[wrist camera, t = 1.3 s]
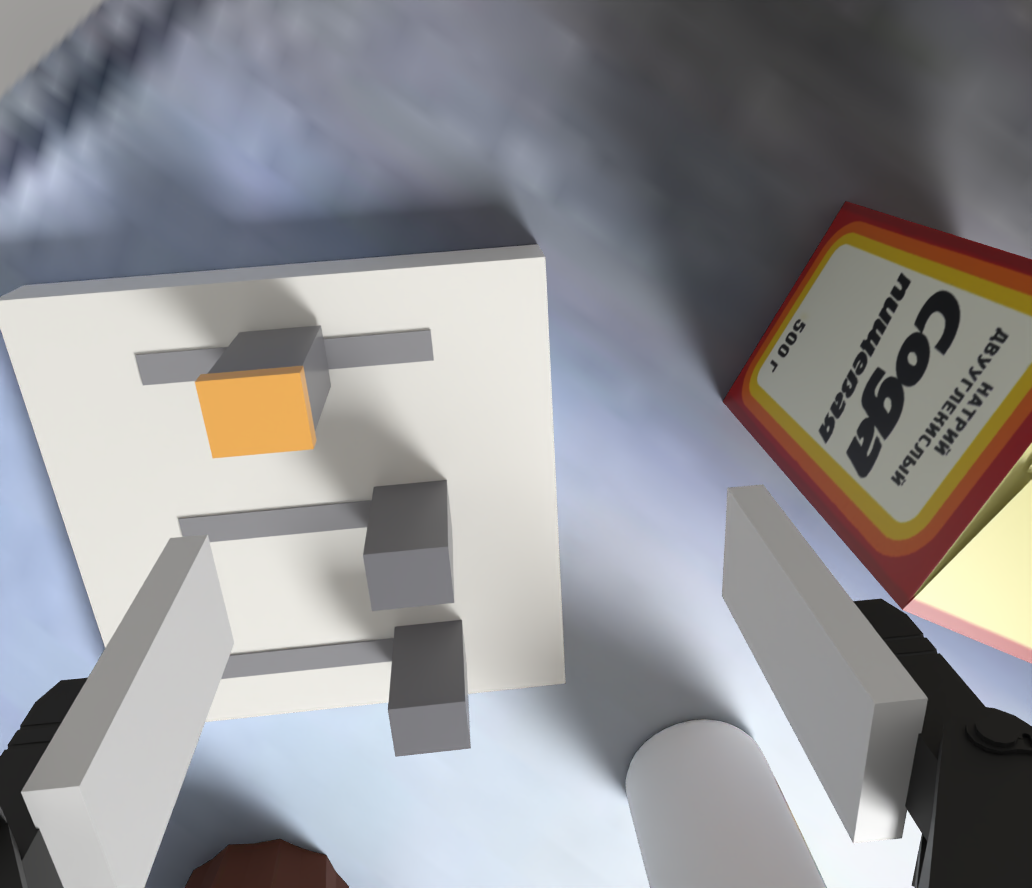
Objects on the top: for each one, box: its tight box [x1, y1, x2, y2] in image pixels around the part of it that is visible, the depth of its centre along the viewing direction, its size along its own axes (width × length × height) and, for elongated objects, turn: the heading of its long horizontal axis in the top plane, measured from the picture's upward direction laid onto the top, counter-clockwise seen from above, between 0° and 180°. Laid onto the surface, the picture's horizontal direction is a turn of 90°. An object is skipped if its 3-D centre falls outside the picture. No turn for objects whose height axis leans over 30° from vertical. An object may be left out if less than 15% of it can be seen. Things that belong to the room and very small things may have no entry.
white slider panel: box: [0, 244, 566, 757], centre depth 33 cm, size 20×20×8 cm
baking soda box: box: [723, 201, 1032, 663], centre depth 29 cm, size 10×6×16 cm
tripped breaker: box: [195, 325, 331, 458], centre depth 29 cm, size 3×3×6 cm
